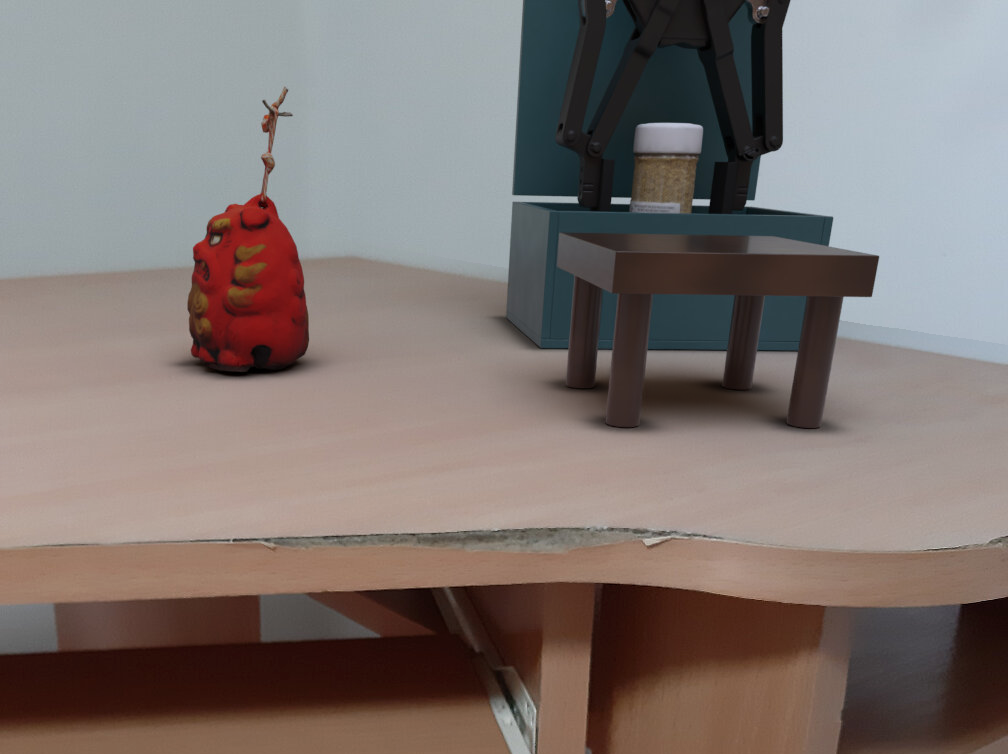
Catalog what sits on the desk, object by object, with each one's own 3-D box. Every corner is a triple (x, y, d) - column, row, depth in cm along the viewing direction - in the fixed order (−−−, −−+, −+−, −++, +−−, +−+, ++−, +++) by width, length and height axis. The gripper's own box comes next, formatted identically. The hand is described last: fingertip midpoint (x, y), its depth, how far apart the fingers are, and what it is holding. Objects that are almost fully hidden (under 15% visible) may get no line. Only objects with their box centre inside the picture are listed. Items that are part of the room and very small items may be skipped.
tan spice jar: (692, 325, 78) (717, 124, 72) (656, 331, 75) (680, 122, 69) (640, 318, 81) (660, 124, 75) (603, 323, 78) (622, 122, 72)
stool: (752, 381, 61) (774, 236, 58) (847, 432, 50) (879, 255, 47) (548, 380, 60) (559, 232, 57) (599, 431, 49) (615, 251, 46)
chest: (811, 351, 72) (834, 216, 69) (540, 348, 71) (549, 210, 67) (736, 320, 85) (752, 206, 82) (505, 317, 84) (512, 201, 80)
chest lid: (786, -25, 75) (781, -23, 76) (526, -35, 74) (524, -33, 75) (754, 200, 81) (750, 200, 82) (513, 195, 80) (511, 195, 80)
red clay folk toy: (174, 357, 64) (157, 83, 58) (283, 351, 67) (277, 89, 62) (215, 380, 58) (200, 76, 52) (332, 372, 61) (331, 83, 55)
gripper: (828, -98, 71) (775, 256, 80) (523, -112, 70) (503, 251, 78) (882, -125, 64) (818, 266, 73) (545, -141, 63) (521, 261, 72)
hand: (655, 258), depth 76 cm, fingers open, 8 cm apart
